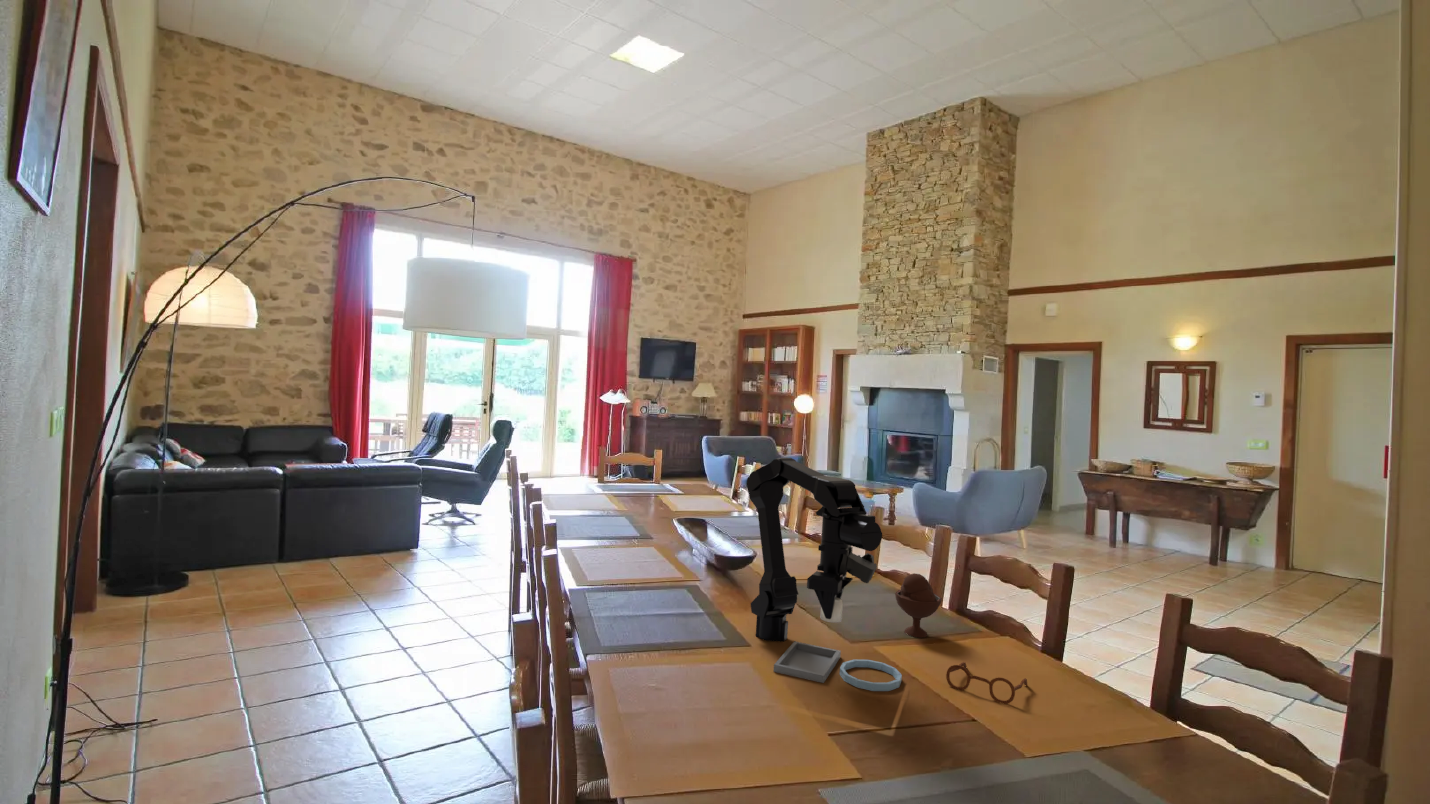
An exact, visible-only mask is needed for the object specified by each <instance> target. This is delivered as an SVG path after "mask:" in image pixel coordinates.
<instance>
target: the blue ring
mask: <svg viewBox="0 0 1430 804" xmlns="http://www.w3.org/2000/svg"><path fill="white" fill-rule="evenodd" d="M854 668H868V669H869V668H870V669H875V670H877V671H882V672H885V673H887V674H889V675H891V676H892V677H893V678H894V679H893V680H891V681H888V682H873V681H868V680H863V679H859V678H857V677H855V676H852V675H851V674H849V673H848V672H847V670H850V669H854ZM839 676H840V677H841V678H842V680H843V682H846V683H847V684H850V685H851V686H853V687H856V688H858V689H862V690H863V689H864V690H867V691H871V692H889V691H893V690H895V689H898V688H900V686H901V683H902V678H903V676H902V673H901V672H900V671H899V670H898V669H897V668H896V667H893V666H892V665H890V664H887V663H885V662H881V661H877V660H872V659H856V658H855V659H851V660H847V661H844V662H842V663H841V665H840V667H839Z"/></svg>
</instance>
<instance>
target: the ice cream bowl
mask: <svg viewBox="0 0 1430 804" xmlns="http://www.w3.org/2000/svg"><path fill="white" fill-rule="evenodd" d="M894 594H895V600H896V603H897V604H898V606H899V608H900V609H901V610H902V611H903V612H904V613H906V614H907V615H908V616H910V617H912V625H911V626H908V627H906V628H905V629H904V631H903V632H904V633H905V634H906V633H907V634H908V635H907V634H906V635H907V636H910V635H911V636H910V637H912V636H913V638H920V639H921V638H926V637H927V636H928V631H926V630H924V629H923V628H922V627H921V621H922V619H923V618H924V619H925V618H928V617H930V616H933V614H935V613H936V612H937V610H938V609H939V607H940V605H941V603H942V597H941V596H939V595H938V594H937V593H934V589H933V587H932V585H931V584H930V582H929V581H928V579H927V578H926V577H925V575H921V574H920V573H911V574H907V575H906V576H905V577H904V579H903V582H902V584H901V586H900V589H898V590H897V591H895V593H894Z"/></svg>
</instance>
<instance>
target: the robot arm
mask: <svg viewBox="0 0 1430 804" xmlns="http://www.w3.org/2000/svg"><path fill="white" fill-rule="evenodd" d="M790 482H791V483H793V484H795V485H797V486H798V487H800V488H802V489H804V490H805V491H807V492H810V493H811V494H812V495H813V498H814V500H815V501H816V502H817V503H818V504H820V505H821V506H822V507H820V509H818V510H817V511H815V515H816V516H818V517H822V521H821V522H822V523H821V524H822V525H821V539H820V541H821V542H820V544H819V545H818V550H817V551H819V552H820V559H819V560H820V561H819V562H820V563H819V564H818V565H817V568H816V571H814V572H813V573H812V574H811V575H810V576H808V577H807V580H806V589H808V590H813V591H814V592H815V595H816V598H817V601H818V602H819V604H820V609H821V608H822V610H823V613H824V615H825V618H826V619H831V617H832V613H833V609H834V604H835V599H836V597H837V598H840V599H842V596H843V592H844V589H845V587H846V586H848V585H849V584H850V583H851V582H852V581H853V578H852V577H850V576H849V577H848V576H847V574H850V575H851V576H853V577H854V578H857V579H859V580H860V581H861V582H862V583H864V584H869V583H870V581H871V580H872V579H873V576H874V574H875V572H876V570H877V567H878V566H877V563H875V557H874V555H873V554H871V553H869V552H873V551H875V550H876V549H878V547H880V545H881V543H882V540H883V532H882V529H881V527H880V525H879V524H878V523H877V522H876V516H875V515H871V514H869V515H867V511H866V509H865V505H864V504H863V502H862V499H861V497H860V495H859V492H858V491H857V488H856V484H855V483H854V481H852V480H849V479H846V478H842V477H834V476H828V475H824V474H823V473H821V472H818V471H816V470H815V469H812V468H811V467H808V466H806V465H804V464H802V463H800V462H798V461H796V459H794V458H792V457H777V458H775V459H773V460H772V461H771V462H770V463H767V464H766V465H763V466H762V467H759V468H757V469H755V470H754V471H751V472H750V474H749V475H748V477H747V478H746V489H747V492H748V497H749V500H750V502H751V503H752V504H753V505H754V507H755V508H756V510H757V516H758V526H759V527H758V528H759V534H760V536H759V537H760V544H761V552H762V553H761V554H762V560H763V562H762V563H763V574H762V577H761V579H760V582H759V584H758V588H759V590H758V595H757V596H756V597H755V598H754V599H753V600H752V601H751V602H750V610H751V614H753V615H755V616H756V622H755V625H756V627H755V637H756V638H759V639H760V640H763V641H766V642H779V643H781V642H782V643H783V642H785V641H786V640H787V639H788V633H789V631H788V630H789V620H787V615H793V612H794V610H795V606H796V604H797V602H798V595H799V592H798V588H797V587H798V586H797V579H796V576H794V575H793V576H791V574H790V573H789V571H787V569H786V560H785V559H786V558H785V551H784V543H783V536H782V527H781V526H782V525H781V520H780V510H779V509H780V508H779V506H780V505H781V501H782V500H783V498H784V487H785V486H786V485H788V484H789V483H790ZM853 547H855V548H857V549H861V550H864V551H867V553H865V554H864V555H862V556H861V555H860V554H855V553H853Z"/></svg>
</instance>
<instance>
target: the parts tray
mask: <svg viewBox="0 0 1430 804" xmlns="http://www.w3.org/2000/svg"><path fill="white" fill-rule="evenodd" d="M841 651H842V650H839V649H835V648H829V647H825V646H824V647H823V646H821V645H814V644H811V643H805V642H801V641H800V642H799V641H793V642H792V643H791V645H790V646H789V647H788V648H787V649H786V650H785V652H784V653H783V654H782V655H781V656H780V657H779V658H778V660H776V662H775V663H773V673H777V674H781V675H786V676H790V677H794V678H799V679H805V680H807V681H812V682H817V683H821V684H824V683H825V682H826V681H827V679H828V677H829V676H830V675H831V672H832V671H833V670H834V668H835V667H836V665H837V663H838V662H839V660H840V658H841V655H842V654H841V653H842V652H841Z"/></svg>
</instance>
